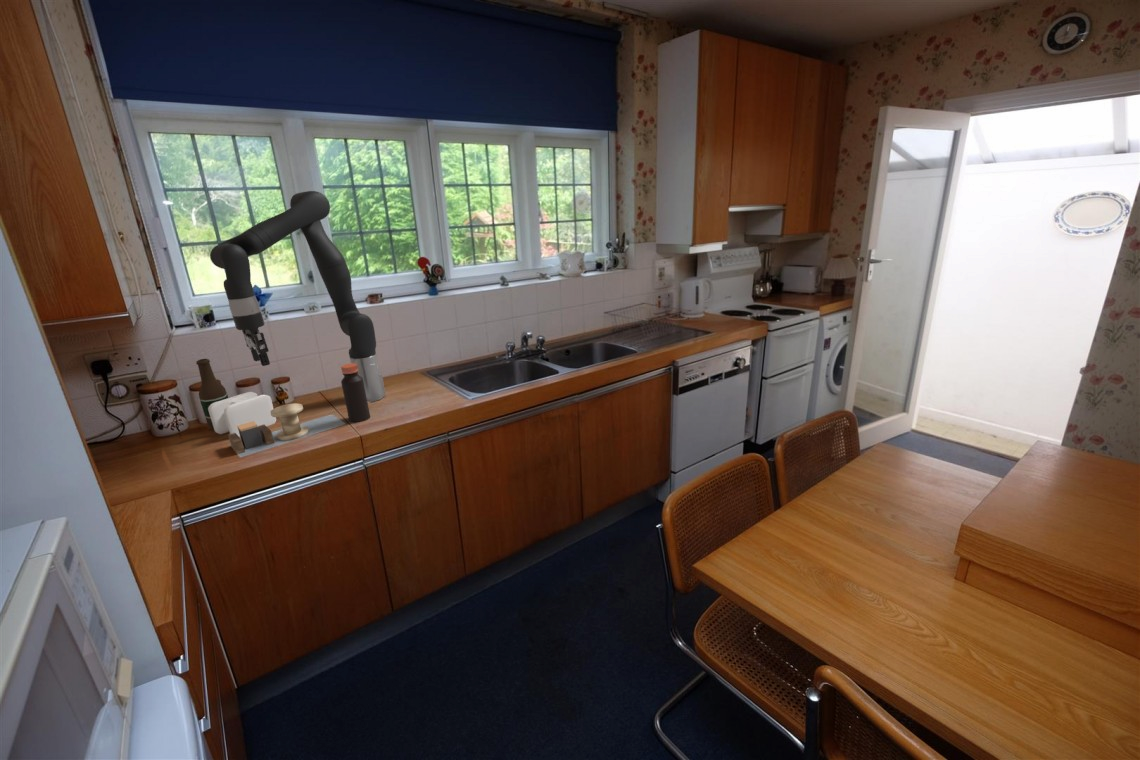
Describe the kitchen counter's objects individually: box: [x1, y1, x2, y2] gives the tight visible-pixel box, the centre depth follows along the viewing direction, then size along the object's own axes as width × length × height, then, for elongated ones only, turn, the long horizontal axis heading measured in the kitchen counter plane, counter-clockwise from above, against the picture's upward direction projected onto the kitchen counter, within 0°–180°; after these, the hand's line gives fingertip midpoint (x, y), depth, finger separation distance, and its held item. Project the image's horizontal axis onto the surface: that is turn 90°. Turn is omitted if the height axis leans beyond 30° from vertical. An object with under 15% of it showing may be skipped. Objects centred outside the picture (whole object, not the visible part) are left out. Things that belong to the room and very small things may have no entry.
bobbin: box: [270, 403, 309, 441], centre depth 158 cm, size 9×9×9 cm
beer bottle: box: [195, 358, 229, 431], centre depth 168 cm, size 8×8×24 cm
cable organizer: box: [208, 391, 277, 438], centre depth 165 cm, size 15×11×12 cm
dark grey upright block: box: [237, 421, 263, 449], centre depth 152 cm, size 4×4×7 cm
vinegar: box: [340, 362, 371, 424], centre depth 167 cm, size 7×7×20 cm
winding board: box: [236, 414, 347, 459], centre depth 160 cm, size 31×13×1 cm, turn 134°
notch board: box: [227, 425, 274, 455], centre depth 153 cm, size 10×8×4 cm
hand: (262, 362), depth 156 cm, fingers open, 8 cm apart
